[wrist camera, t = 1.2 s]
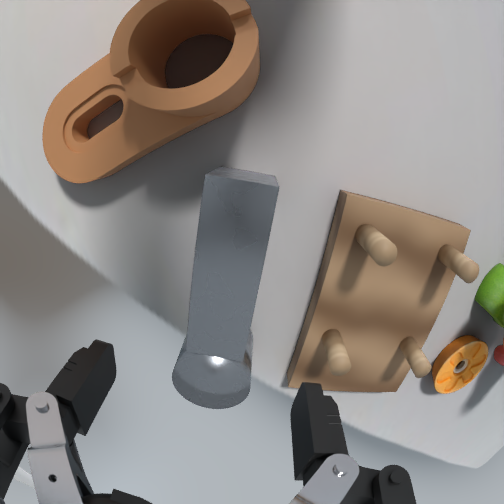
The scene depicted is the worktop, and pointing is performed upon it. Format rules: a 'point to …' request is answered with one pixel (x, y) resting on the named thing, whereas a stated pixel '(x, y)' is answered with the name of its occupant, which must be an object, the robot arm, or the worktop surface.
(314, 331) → the rack
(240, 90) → the bracket
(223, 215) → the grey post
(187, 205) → the worktop surface
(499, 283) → the wooden stacking toy
